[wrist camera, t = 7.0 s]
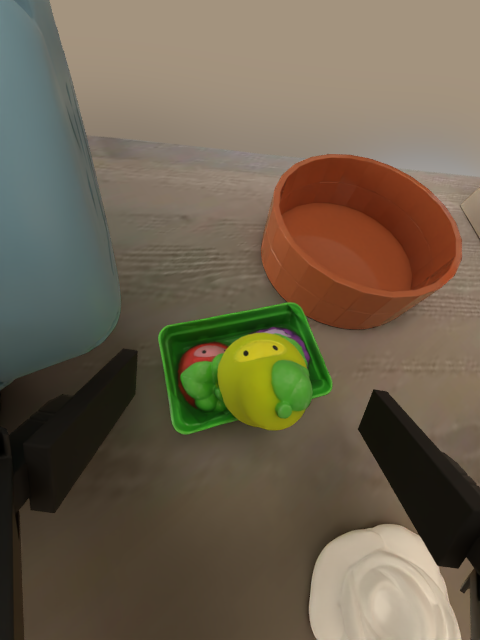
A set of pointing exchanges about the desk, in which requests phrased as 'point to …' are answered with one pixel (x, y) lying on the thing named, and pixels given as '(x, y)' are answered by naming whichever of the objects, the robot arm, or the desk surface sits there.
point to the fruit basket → (242, 369)
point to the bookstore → (473, 210)
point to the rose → (379, 589)
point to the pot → (357, 241)
